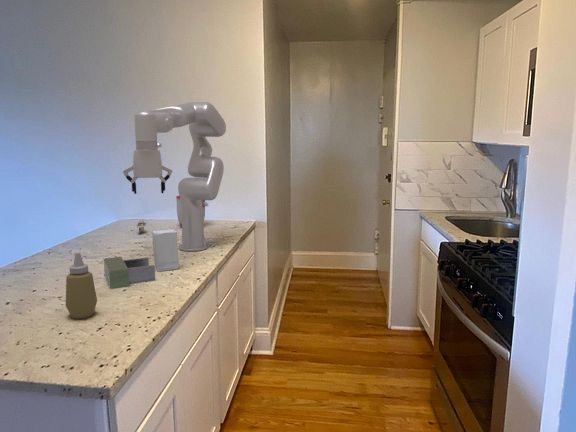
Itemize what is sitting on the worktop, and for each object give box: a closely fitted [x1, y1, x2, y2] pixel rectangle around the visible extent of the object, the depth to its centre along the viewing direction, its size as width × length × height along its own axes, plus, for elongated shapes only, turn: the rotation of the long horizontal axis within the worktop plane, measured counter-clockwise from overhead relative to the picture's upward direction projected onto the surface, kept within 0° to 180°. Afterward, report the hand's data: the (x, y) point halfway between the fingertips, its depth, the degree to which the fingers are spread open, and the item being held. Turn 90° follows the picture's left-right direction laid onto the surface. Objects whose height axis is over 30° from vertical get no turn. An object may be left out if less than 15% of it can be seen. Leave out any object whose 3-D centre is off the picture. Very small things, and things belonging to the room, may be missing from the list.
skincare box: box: [151, 228, 179, 272], centre depth 168 cm, size 8×6×15 cm
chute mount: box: [103, 256, 156, 290], centre depth 157 cm, size 15×17×6 cm
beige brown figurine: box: [136, 219, 147, 236], centre depth 229 cm, size 12×18×7 cm, turn 14°
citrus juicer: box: [175, 195, 209, 228], centre depth 244 cm, size 16×17×20 cm
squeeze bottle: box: [65, 252, 98, 320], centre depth 124 cm, size 8×8×18 cm
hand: (149, 193), depth 166 cm, fingers open, 9 cm apart
